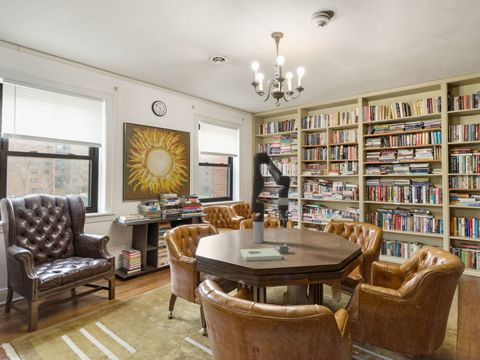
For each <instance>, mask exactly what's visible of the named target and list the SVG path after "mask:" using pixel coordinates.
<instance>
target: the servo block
mask: <svg viewBox="0 0 480 360" xmlns="http://www.w3.org/2000/svg"><path fill="white" fill-rule="evenodd" d="M275 249H276V250H278V252H279V253H280V254H281V255H284V254H285V255H286V254H289V250H291V247H290V246H289V245H287V244H285V243H284V244H282V245H280V244H279V245H278V246H277V247H276V248H275Z"/></svg>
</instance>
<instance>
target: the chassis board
mask: <svg viewBox="0 0 480 360" xmlns="http://www.w3.org/2000/svg"><path fill="white" fill-rule="evenodd" d="M240 254H241V256H242V258H243V260H244V261H245V262H250V261H251V262H252V261H254V262H256V261H273V260H274V261H276V260H279V261H280V260H282V259H283V254H280V253H279V251H278V250H277V249H276V248H272V247H269V248H243V249H240Z"/></svg>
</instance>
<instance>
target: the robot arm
mask: <svg viewBox="0 0 480 360" xmlns="http://www.w3.org/2000/svg"><path fill="white" fill-rule="evenodd" d="M252 161H253V177H252V178H253V179H252V180H253V181H252V197H251V205H250V210H251V212H250V213H252V214H259V215H257V216H255V217H253V219H252V243H254V244H264V243H265V202H263V201H257V200H258V197H259V196H260V195H261V194H262V192H263V191H264V189H265V178H264V176H263V174H262V173H261V165H267V171H268V173H269V175H271V177H272V178H273V179H274V180H273V181H274V183H275V184H276V185H277V186H281V187H282V188H280V189H279V190H278V191H277V192H278V194H277V197H278V198H277V211H278V220H279V226H280V227H283V229H287V227H288V223H289V213H288V211H289V209H290V208H289V207H290V206H289V205H290V204H289V191H290V187H291V182H292V181H291V177H290V176H288V175H283V172H282V171H281V169H280V168H278V167H277V166H276V165H275V163H274V162H273V160H272V159H271V157H270V156H269V154H268V153H267V152H256V153H254V154H253V160H252Z"/></svg>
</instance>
